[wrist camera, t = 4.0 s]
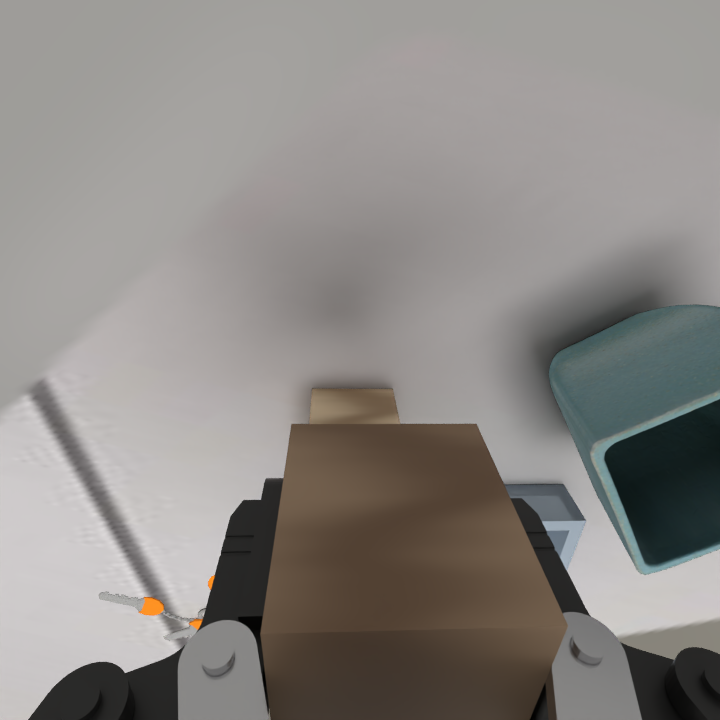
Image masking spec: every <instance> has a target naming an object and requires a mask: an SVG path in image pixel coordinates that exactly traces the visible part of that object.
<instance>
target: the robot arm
mask: <svg viewBox="0 0 720 720" xmlns="http://www.w3.org/2000/svg"><path fill="white" fill-rule="evenodd" d="M283 479H284V478H266V480H265V483H264V488H263V493H262V498H261V500H243V501H242V503H241V504H240V505H239V506H238V508H237V509H236V510H235V512H234V513H233V514H232V515H231V517H230V520H229V524H228V528H227V532H226V535H225V540H224V543H223V547H222V550H221V556H220V558H219V562H218V565H217V569H216V573H215V577H214V580H213V584H212V588H211V592H210V595H209V599H208V603H207V606H206V610H205V614H204V617H203V620H202V623H201V625H200V627H199V629H198V630H197V632H196V633H195V634H194V635H193V636H192V637H191V639H190V640H189V641H188V642H187V644H186V645H185V646H184V647H183V648H181V649H180V650H179V651H177V652H176V653H174V654H173V655H171V656H169V657H167V658H165V659H163V660H161V661H158V662H155V663H152V664H150V665H147V666H144V667H141V668H138V669H136V670H133V671H130V672H127V673H124V671H123V670H122V669H121V668H120V667H119V666H117V665H115V664H113V663H109V662H96V663H91V664H88V665H85V666H83V667H80V668H78V669H76V670H75V671H73V672H71V673H70V674H68V675H67V676H66V677H64V678H63V679H62V680H61V681H60V682H58V683H57V684H56V685H55V686H54V687H53V689H52V690H51V691H50V692H49V693H48V694H47V696H46V697H45V698H44V700H43V701H42V702H41V704H40V705H39V706H38V708H37V709H36V710H35V711H34V713H33V714H32V715H31V717H30V718H29V719H28V720H269V718H268V714H269V701H268V693H267V684H266V676H265V668H264V660H263V652H262V643H261V635H260V633H261V626H262V620H263V613H264V606H265V599H266V593H267V586H268V579H269V573H270V566H271V559H272V552H273V546H274V539H275V532H276V526H277V519H278V512H279V506H280V499H281V492H282V485H283ZM503 484H504V483H503ZM504 486H505V485H504ZM505 488H506V487H505ZM508 495H509V494H508ZM509 497H510V496H509ZM510 499H511V501H512V503H513V506H514V508H515V510H516V512H517V514H518V517H519V519H520V521H521V523H522V525H523V528H524V530H525V532H526V534H527V536H528V539H529V541H530V543H531V545H532V547H533V550H534V552H535V554H536V556H537V558H538V561H539V563H540V565H541V567H542V569H543V572H544V574H545V576H546V578H547V580H548V583H549V585H550V587H551V589H552V591H553V594H554V596H555V598H556V600H557V602H558V605H559V607H560V609H561V611H562V613H563V616H564V618H565V620H566V622H567V624H568V628H567V630H566V633H565V635H564V638H563V640H562V642H561V645H560V647H559V650H558V652H557V655H556V657H555V659H554V662H553V664H552V667H551V669H550V671H549V674H548V676H547V679H546V681H545V684H544V686H543V688H542V691H541V693H540V696H539V698H538V701H537V703H536V705H535V708H534V710H533V713H532V715H531V718H530V720H720V654H718V653H715V652H713V651H710V650H707V649H703V648H697V647H692V648H686V649H684V650H682V651H681V652H680V653H679V654H678V655H677V657H676V658H675V660H672V659H669V658H666V657H662V656H659V655H656V654H652V653H649V652H646V651H642V650H639V649H636V648H633V647H630V646H627V645H625V644H623V643H621V642H619V640H618V639H617V637H616V636H615V635H614V634H613V633H612V632H611V631H610V630H609V629H608V628H607V627H606V626H605V625H604V624H602V623H601V622H599V621H598V620H596V619H594V618H592V617H591V616H590V615H589V613H588V611H587V610H586V608H585V606H584V604H583V602H582V600H581V598H580V596H579V594H578V592H577V590H576V588H575V586H574V584H573V582H572V580H571V578H570V576H569V574H568V572H567V570H566V568H565V566H564V564H563V562H562V560H561V559H560V557H559V555H558V553H557V551H555V547H554V545H553V543H552V541H551V539H550V537H549V536H548V535H547V531H546V529H545V527H544V525H543V523H542V521H541V519H540V517H539V515H538V513H537V512H536V511H535V510H534V509H533V508H532V507H531V506H529V505H528V504H527V503H526V502H525V501H524V500H523V499H522V498H510Z"/></svg>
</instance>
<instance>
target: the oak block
mask: <svg viewBox="0 0 720 720" xmlns="http://www.w3.org/2000/svg"><path fill="white" fill-rule="evenodd" d="M309 424H400V421H399V416H398V412H397V407H396V402H395V398H394V393H393V389H312V396H311V409H310V421H309Z"/></svg>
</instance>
